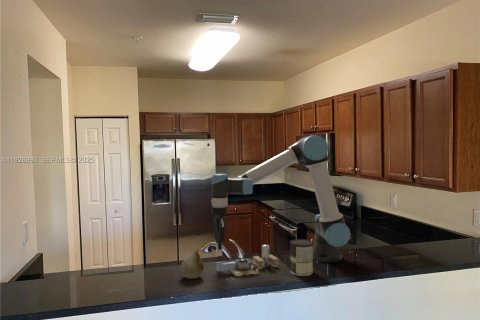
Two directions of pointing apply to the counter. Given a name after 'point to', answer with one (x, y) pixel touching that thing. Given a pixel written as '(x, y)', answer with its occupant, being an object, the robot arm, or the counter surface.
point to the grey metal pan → (235, 265)
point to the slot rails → (260, 262)
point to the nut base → (245, 271)
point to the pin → (265, 254)
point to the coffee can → (301, 257)
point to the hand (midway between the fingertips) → (219, 255)
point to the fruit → (192, 266)
